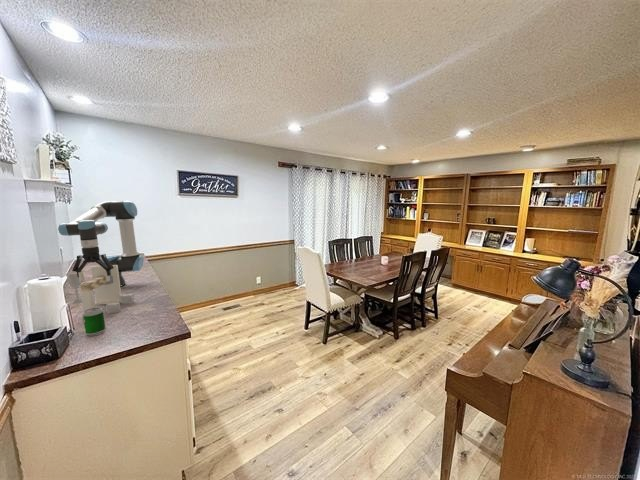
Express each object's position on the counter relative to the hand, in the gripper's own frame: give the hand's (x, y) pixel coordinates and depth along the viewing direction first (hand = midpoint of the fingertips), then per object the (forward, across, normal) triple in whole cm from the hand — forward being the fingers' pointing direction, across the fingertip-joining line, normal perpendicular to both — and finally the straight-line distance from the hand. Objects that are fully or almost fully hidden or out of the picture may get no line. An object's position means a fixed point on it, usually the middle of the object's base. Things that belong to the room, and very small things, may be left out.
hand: (95, 281), depth 157 cm
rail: (+3, 0, 0) cm, 3 cm away
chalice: (+17, -21, +16) cm, 31 cm away
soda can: (+16, +18, -34) cm, 42 cm away
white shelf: (+17, 0, 0) cm, 17 cm away
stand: (+17, +12, 0) cm, 21 cm away
